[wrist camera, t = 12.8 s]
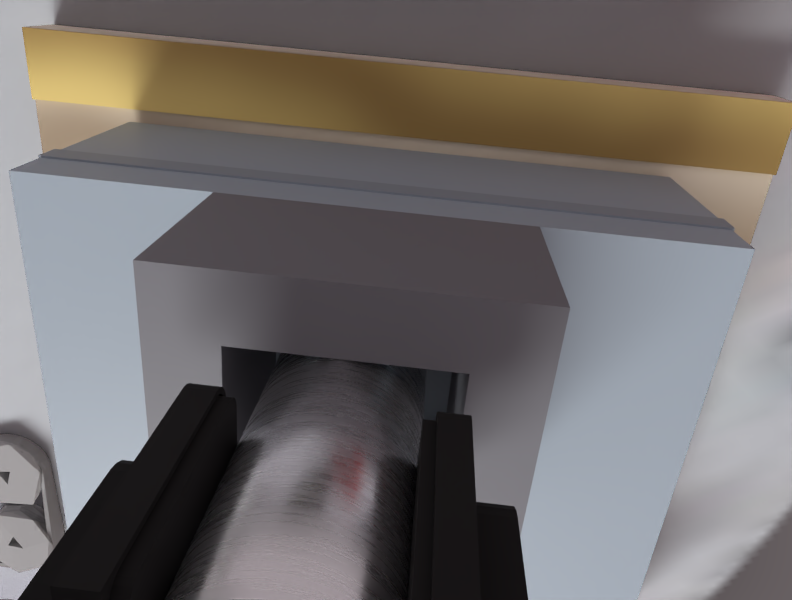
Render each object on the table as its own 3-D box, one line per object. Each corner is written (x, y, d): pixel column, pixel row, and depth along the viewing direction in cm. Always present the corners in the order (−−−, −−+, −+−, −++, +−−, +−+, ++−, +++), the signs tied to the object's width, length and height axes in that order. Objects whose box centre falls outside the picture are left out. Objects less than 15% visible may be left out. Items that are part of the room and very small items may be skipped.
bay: (53, 24, 21) (-73, 35, 16) (773, 95, 20) (880, 129, 15) (118, 552, 30) (51, 664, 25) (610, 613, 29) (642, 740, 24)
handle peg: (290, 282, 14) (-13, 827, 5) (434, 298, 14) (405, 884, 5) (287, 404, 15) (45, 1018, 6) (420, 419, 15) (375, 1066, 6)
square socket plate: (127, 119, 20) (-143, 227, 11) (672, 175, 19) (865, 337, 10) (155, 447, 25) (-13, 707, 16) (585, 499, 24) (665, 796, 15)
